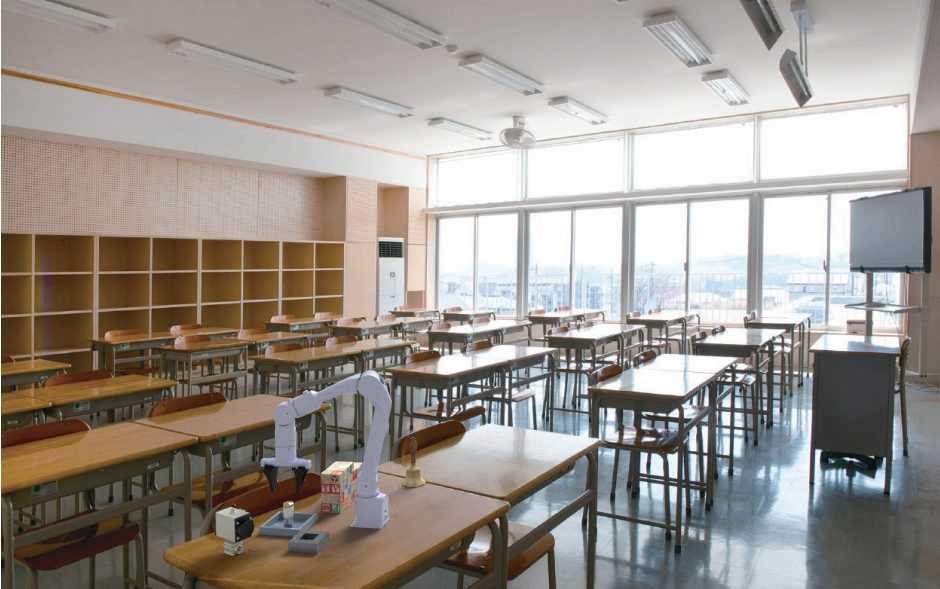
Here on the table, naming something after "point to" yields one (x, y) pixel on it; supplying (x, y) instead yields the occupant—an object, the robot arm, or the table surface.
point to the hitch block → (308, 541)
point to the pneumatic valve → (233, 528)
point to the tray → (277, 528)
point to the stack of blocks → (338, 486)
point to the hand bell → (413, 469)
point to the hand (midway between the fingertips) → (286, 491)
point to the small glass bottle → (288, 514)
